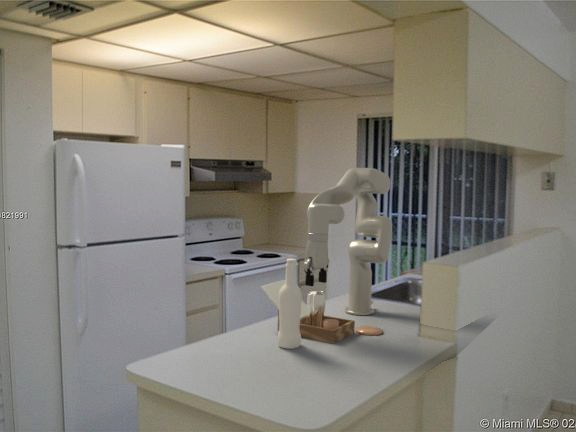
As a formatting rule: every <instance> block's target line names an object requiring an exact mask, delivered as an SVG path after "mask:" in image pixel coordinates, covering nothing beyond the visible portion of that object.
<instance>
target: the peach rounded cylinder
mask: <svg viewBox="0 0 576 432" xmlns="http://www.w3.org/2000/svg"><path fill="white" fill-rule="evenodd" d="M337 327H339V321H338V320H335V319H325V320H323V328H326V329H331V330H333V329H335V328H337Z"/></svg>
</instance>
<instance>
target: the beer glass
mask: <svg viewBox="0 0 576 432" xmlns="http://www.w3.org/2000/svg"><path fill="white" fill-rule="evenodd" d="M306 298H307V299H306V305H307V313H308V321H309V323H308V325H310V326H315V327H320V328H323V317H324V316H325V311H326V304H327V303H326V302H327V301H326V292H325V291H321V290H311V291H308V292H307V297H306Z"/></svg>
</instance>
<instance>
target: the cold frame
mask: <svg viewBox="0 0 576 432" xmlns="http://www.w3.org/2000/svg"><path fill="white" fill-rule="evenodd" d="M325 319H335V320H338V321H339V327H337V328H335V329H333V330H331V329H326V328H320V327H315V326H310V325H308V323H309V321H308V316H305V317H303V318H300V328H299V330H300V334H301V338H304V339H309V340H313V341H314V340H315V341H320V342H323V343H324V342H325V343H328V344H335V343H337V342H339V341H341V340H343V339H346V338H347V337H348V336H350V335H353V334H354V333H355V327H356V326H355V320H351V319H346V318H341V317H335V316H330V315H324V317H323V320H325Z"/></svg>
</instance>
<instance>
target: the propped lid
mask: <svg viewBox="0 0 576 432" xmlns="http://www.w3.org/2000/svg"><path fill="white" fill-rule="evenodd" d="M284 284H285V279H281V280H277V281H274V282H270V283H266V284H263V285H259V289H260V290H261V291H262V292H263V293H264V294H265V296H266V297H267V298H268V299H269V300H270V302H271V303H272V304H273V305H274V306H275V308H277V331H278V332H279V330H280V320H279V292H280V289H281V288H282V286H283V285H284ZM305 316H308V313H307V303H305V301H304V300H303V299H302V303H301V315H300V318H303V317H305Z"/></svg>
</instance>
